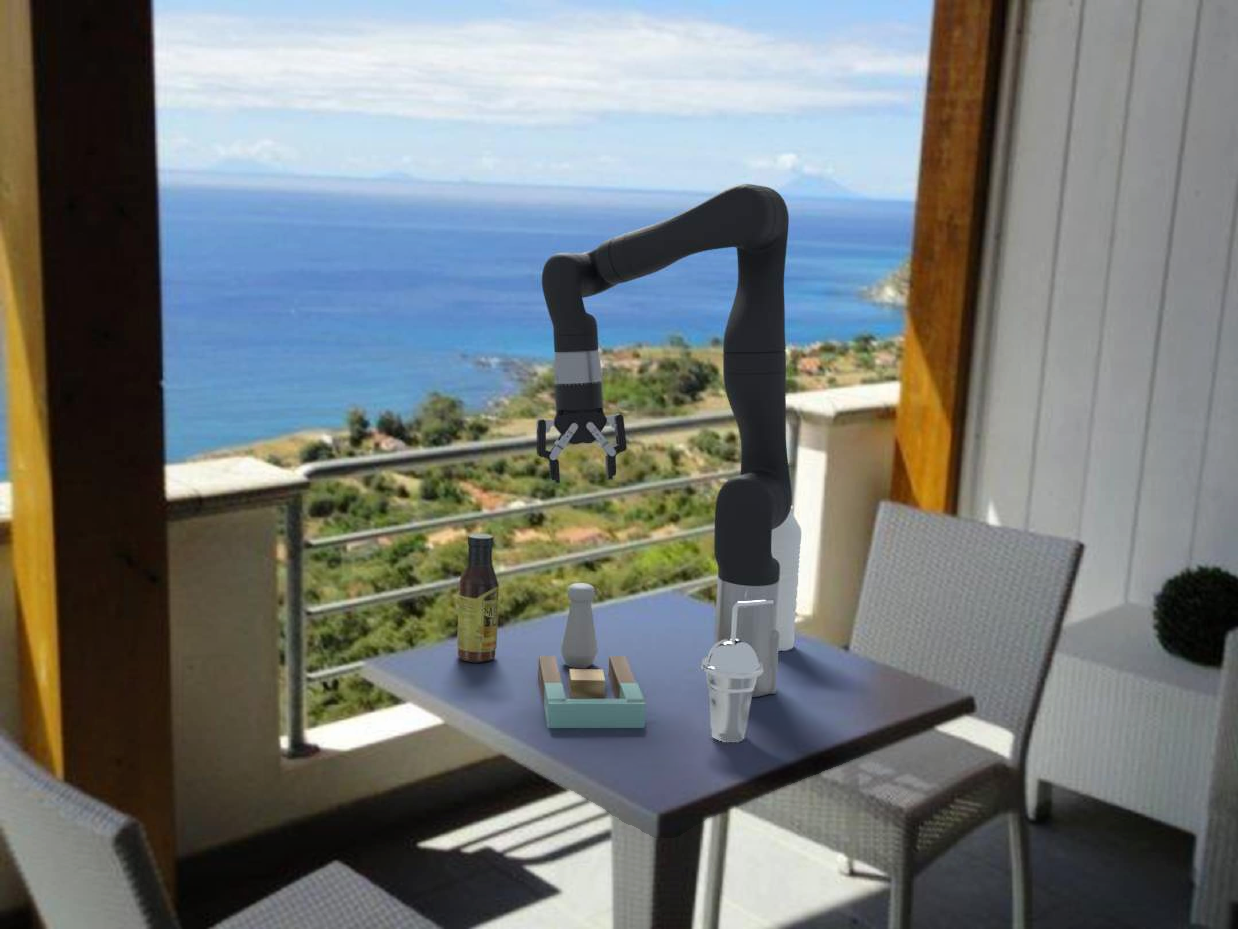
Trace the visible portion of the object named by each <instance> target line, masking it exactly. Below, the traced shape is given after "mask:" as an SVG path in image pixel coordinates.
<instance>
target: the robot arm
mask: <svg viewBox="0 0 1238 929" xmlns="http://www.w3.org/2000/svg"><path fill="white" fill-rule="evenodd" d="M789 220H790V218H789V211H788V206H787V204H786V200H784V199H783V197H782V195H781V194H780V193H779V192H777V191H776V190H775V189H773V188H772V187H769V186H763V185H759V184H751V183H740V184H735V185H732V186H730V187H728V188H726V189H724V190H723V191H721V192H719V193H717V194H715V195H714V196H712V197H710V198H708V199H706V200H705V201H704V202H701V203H700V204H698V205H696V206H693V207H692V208H690V209H688V210H686V211H684V212H681V213H679V214H678V215H675V216H673V217H670V218H667V219H665V220H662V221H659V222H656V223H653V224H650V225H648V226H644V227H641V228H639V229H635V230H632V231H629V232H625V233H623V234H620V235H617V236H615V237H612V238H609V239H607V240H605V241H603V242H602V243H600V245H599V246H598V247H597V248H595V249H592V250H589V251H585V252H579V253H578V252H577V253H574V252H573V253H572V252H559V253H555V254H553V255H552V256H550V257H549V258H548V259H547V260H546V262H545V263H544V265H543V266H544V267H543V269H542V273H541V286H542V293H543V298H544V301H545V304H546V307H547V311H548V315H549V318H550V321H551V323H552V328H553V329H552V330H553V332H552V333H553V350H554V355H553V356H554V357H553V358H554V359H553V379H554V398H555V399H554V400H555V417H554V419H544V418H537V420H536V455H538V456H539V457H540V458H545V459H547V460H548V471H549V478H550V480H551V481H553V482H554V484H555V485H556V484H560V483H561V476H560V475H561V474H560V460H558V457H559V455H560V454H561V452H562V451H563V450H564V449H565V448H566V446H567V445H568V444H571V445H579V444H582V443H583V444H593V443H594V442H595V441H596V443H597V444H598V445H599V446H600V447H601V449H602V450H603V451H604V452H605V453H606V455H605V458H604V459H605V475H606V480H608V481H609V480H610V481H611V480H613V477H614V476H616V474H617V460H616V459H617V455H618V454H620V453H622V452H625V451H626V450H627V449H628V448H627V437H626V429H625V420H624V415H622V414H621V413H615V414H614V415H613V414H612V415H605V412H604V403H603V399H604V398H603V383H602V382H603V380H602V379H603V373H602V366H601V365H602V363H601V357H600V352H599V338H598V337H599V336H598V335H599V334H598V333H599V332H598V324H597V323H598V322H597V320H596V318H595V317H594V316H593V315H592V314H590V313H587V311H586V309H585V304H584V300H583V299H584V298H588V297H592V296H595V295H597V294H600V293H603V292H605V291H607V290H610V289H611V288H613V287H615V286H617V285H618V284H623V283H628V282H630V281H633V280H637V279H639V278H643V277H645V276H649V275H651V274H654V273H655V274H656V272H659V271H661V270H663V269H665V268H667V267H669V266H670V265H673V264H674V263H676V262H678V261H680V260H682V259H683V258H687V257H690V256H692V255H694V254H698V253H699V254H700V253H701V252H707V251H712V250H719V249H726V248H728V249H729V248H736V255H737V284H736V285H737V288H736V292H735V296H734V300H733V303H732V307H731V310H730V312H729V316H728V320H727V323H726V325H725V326H726V327H725V330H724V336H723V346H722V352H723V353H722V358H723V359H722V360H723V362H722V363H723V364H722V366H723V369H722V371H723V382H724V383H723V384H724V390H725V394H726V397H727V401H728V403H729V406H730V409H731V410H732V411H731V412H732V414H733V417H734V420H735V422H736V425H737V428H738V429H737V430H738V432H739V437H740V448H741V449H740V451H741V452H740V453H741V457H740V473H739V475H737V476H735V477H732V478H729V479H728V480H727V481H725V482H724V484H722V486H721V487H720V489H719V491H718V494H717V495H716V496H717V497H716V501H715V505H714V506H715V508H714V530H713V531H714V535H713V536H714V537H713V539H714V541H713V545H714V546H713V547H714V548H713V550H714V556H715V557H714V558H715V562H716V564H717V569H718V571H717V573H718V574H717V586H716V587H717V588H716V604H715V606H716V607H715V621H714V623H715V624H714V637H713V646H714V645H715V644H716V643H718V642H720V641H721V640H724V639H728V638H731V624H732V609H733V606H734V605H735V604H736V603H737V602H743V601H758V600H773V599H774V602H775V605H760V606H745V607H739V608H738V611H737V627H736V639H740V640H742V641H745V642H746V643H748V644H749V645H750V646H751V647H752V648H753V649H754V651H755V653H756V656H757V658H758V660H759V661H760V662H761V663H762V665H763V670H764V671H763V673H762V674H761V675H759V676H757V681H756V684H755V688H754V690H753V694H752V698H757V697H763V696H766V695H772V694H773V695H775V694H776V692H777V691H776V690H777V678H778V677H777V675H778V662H779V651H778V649H779V632H778V631H777V630H776V621H777V606H778V591H779V577H780V564H779V562H778V561H777V560H776V559H775V558H773V557H772V553H771V539H772V529H775V528H777V527H778V526H780V525H781V524H782V523H783V522H784V521H785V520H786V519H787V517H788V515H789V512H790V510H791V506H792V504H793V502H792V500H793V496H792V494H793V493H792V492H793V491H792V483H791V475H790V468H789V467H790V466H789V458H788V449H787V436H786V435H787V430H786V428H787V425H786V424H787V402H786V400H787V399H786V398H787V395H786V393H787V391H786V389H787V388H786V387H787V385H786V384H787V383H786V382H787V353H786V352H787V351H786V349H787V348H786V326H785V325H786V322H785V321H786V315H785V314H786V311H785V310H786V309H785V308H786V306H785V270H786V257H787V247H788V246H787V245H788V237H789V224H790V221H789ZM607 423H608V424H609V426H610V427H611V428H612V429H614V434H615V445H611V443H610V442H609V441H608V439H607V438H606V437H605V436H604V435H603V434H602V431H603V429H604V428H605V427H606V426H607V425H606V424H607ZM552 427H554V428H555V429H556V431H557V432H558V433H559V435H558V437H557V438H556V440H555V442H554V444H553V446H552V447H551V448H550V450H548V449H547V434H548V433H550V431H551V429H552Z"/></svg>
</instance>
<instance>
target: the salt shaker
mask: <svg viewBox="0 0 1238 929" xmlns="http://www.w3.org/2000/svg"><path fill="white" fill-rule="evenodd" d="M595 597H596V591H595V587H594V586H593V585H592V584H589V583H586V582H575V583H571V584H570V585H569V586H568V588H567V598H568V600H571V601H570V606H569V610H568V616H567V619H566V625H565V628H564V633H563V637H562V642H561V646H560V652H561V655H562V658H563V660H564V664H565V666H568V667H570V668H571V669H588V667H591V666H592V665H593V664H594V662H595V660H596V657H597V655H598V650H599V649H598V645H597V644H598V642H597V638H596V630H595V628H596V627H595V621H594V614H593V608H592V607H593V606H592V601H593V600H594V599H595Z"/></svg>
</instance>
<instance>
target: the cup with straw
mask: <svg viewBox="0 0 1238 929" xmlns="http://www.w3.org/2000/svg"><path fill="white" fill-rule="evenodd" d="M760 605H775V602H774V599H773V600H758V601H743V602H737V603H736V604H735V605H734V606H733V609H732V624H731V638H728V639H724V640H721V641H720V642H718V643H716V644H715V645H714V644H713V646H712V647H711V648H710V651H709V652H708V654H707V656H706V657H704V658H703V659H702V660H701V665H700V668H701V670H702V671H703V672H705V674H706V677H705V678H706V682H707V687H708V697H709V698H708V700H709V714H710V717H709V718H710V729H711V735H712V736H711V738H712V737H713V738H715V739H717V740H719V741H718V742H720V741H722V742H721V743H726V742H727V744H728V743H729V742H732V743H733V742H734V743H733V744H736V743H740V741H741V742H742V740H743V739H744V740H745V732H746V731H747V727H748V721H749V716H750V715H749V714H750V710H751V703H752V698H753V697H752V694H753V690H754V688H755V684H756V681H757V676H759V675H761V674H762V673H763V671H764V670H763V665H762V663H761V662H760V661H759V660H758V658H757V656H756V653H755V651H754V649H753V648H752V647H751V646H750V645H749V644H748V643H746V642H745V641H742V640H740V639H736V627H737V611H738V608H739V607H745V606H760ZM713 738H712V739H713ZM715 739H714V740H715ZM717 740H716V741H717ZM744 740H743V741H744ZM735 742H736V743H735ZM732 743H731V744H732ZM729 744H730V743H729Z"/></svg>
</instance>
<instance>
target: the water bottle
mask: <svg viewBox="0 0 1238 929" xmlns="http://www.w3.org/2000/svg"><path fill="white" fill-rule="evenodd" d="M801 544H802V529H801V526H800V524H799V523H798V520H797V519H796V517H795V516H794V506H793V505H791V510H790V512H789V515H788V517H787V519H786V520H785V521H784V522H783V523H782V524H781V525H780V526H778V527H777V528H775V529H772V539H771V553H772V557H773V558H775V559H776V560H777V561H778V562H779V564H780V577H779V591H778V606H777V621H776V630H777V631H778V632H779V649H778V652H780V651H781V652H787V651H790V650H792V649H793V648H794V645H795V631H796V618H797V617H796V616H797V613H796V610H797V604H798V603H797V599H798V587H799V568H800V565H799V564H800V557H801V556H800V555H801Z"/></svg>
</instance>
